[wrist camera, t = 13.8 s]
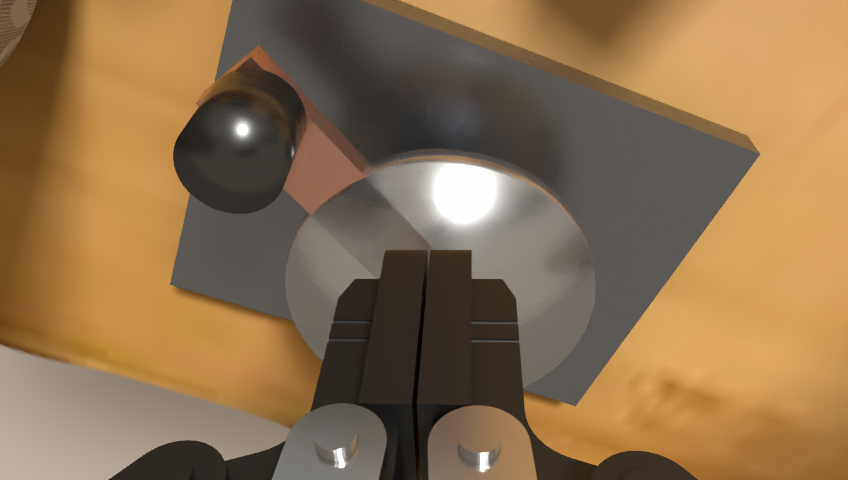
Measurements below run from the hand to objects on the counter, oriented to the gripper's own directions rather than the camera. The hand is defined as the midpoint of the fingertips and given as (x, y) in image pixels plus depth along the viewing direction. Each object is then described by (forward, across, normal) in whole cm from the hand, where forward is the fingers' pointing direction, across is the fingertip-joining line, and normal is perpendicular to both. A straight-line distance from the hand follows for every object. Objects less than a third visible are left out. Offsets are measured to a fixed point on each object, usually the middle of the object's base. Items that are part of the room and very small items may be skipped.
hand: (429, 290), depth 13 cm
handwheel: (+11, +2, +6) cm, 13 cm away
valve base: (+16, +1, +8) cm, 18 cm away
